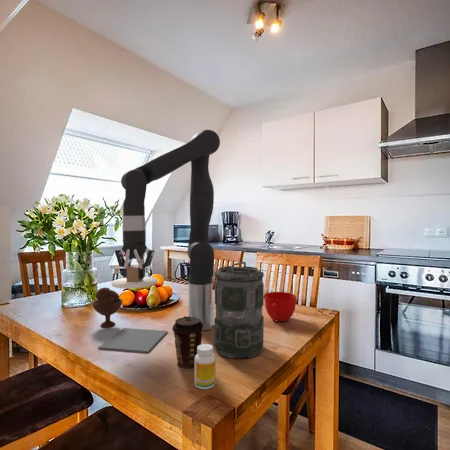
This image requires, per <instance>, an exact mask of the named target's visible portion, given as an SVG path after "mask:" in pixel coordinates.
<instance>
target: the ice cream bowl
mask: <svg viewBox="0 0 450 450" xmlns="http://www.w3.org/2000/svg"><path fill="white" fill-rule="evenodd" d="M95 298H96V300H94V301H92V303H91V304H92V307H93V310H95V312H97V313H98V315H99V314H100V315H101V316H104V317H105V320H104V321H103V322H102V323H101V324H100V327H101V328H103V329H107V328H108V329H109V328H112V327H115V326H116V323H115V322H114V321H112V320H111V316H112V315H114V314H115V313H117V311H118V310H119V309H120V308H121V306H122V304H123V301H124V300H123V299H121V298H120V294H119V293H118V292H116V291H115V290H113V289H111V288H109V287H101V288H98V290H97V291H96V293H95Z"/></svg>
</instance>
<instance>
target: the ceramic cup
mask: <svg viewBox="0 0 450 450" xmlns="http://www.w3.org/2000/svg"><path fill="white" fill-rule="evenodd" d="M264 305H265V310H266V313H267V314H268V316H269V317H270V319H271V320H272V319H273V320H272V321H274V320H277V321H286V320H288V321H289V320H290V319H291V318H292V317H293V315H294V313H295V309H296V305H297V296H296V295H295V294H293V293H291V292H286V291H285V292H284V291H270V292H266V293H265V294H264ZM286 322H287V321H286Z"/></svg>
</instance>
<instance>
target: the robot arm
mask: <svg viewBox="0 0 450 450" xmlns="http://www.w3.org/2000/svg"><path fill="white" fill-rule="evenodd" d="M220 144H221V141H220V136H219V134H217V132H215V130H211V129H204V130H201V131H199V132H197V133H196V134H193V136H192V137H191V138H190V141H188V142H187V143H185V144H182V145H181V146H178V147H176V148H173V149H171V150H169V151H166V152H165V153H162V154H160V155H158V156H156V157H154V158H152V159H150V160H149V161H147V162H146V163H144V164H143V165H140V166H138V167H136V168H133V169H130V170H128V171H127V172H125V173H123V175H122V176H121V179H120V183H121V186H122V188H123V189H125V190H124V191H125V193H124V195H125V196H124V197H125V198H124V200H123V205H122V243H123V244H122V245H123V246H122V247H121V248H120V249H119V248H118V249H115V250H114V253H115V256H116V259H117V263H118V266H119V267H121V268H124V278H126V279H127V267H129V266H132V262H133V260H136V262H137V264H138V265H139V268H140V269H139V280H142V279H143V278H144V277H146V268H148V267H150V266H151V264H152V260H153V257H154V254H155V250H154V249H150V248H148V247H147V244H146V243H147V239H146V237H147V236H146V233H147V230H146V227H147V224H146V217H145V215H146V214H145V212H146V211H145V209H146V208H145V207H146V206H145V201H146V194H147V192H146V191H147V185H148V184H150V183H152V182H154V181H157V180H159V179H162V178H164V177H165V176H168V175H169V174H171V173H172V172H173V173H174V171H176V170H178V169H179V168H181V167H183V166H185V165H187V164H188V163H190V165H191V167H190V168H191V173H190V188H189V189H190V191H189V222H190V225H189V226H190V231H189V239H188V247H187V256H188V258H189V275H188V317H189V316H190V317H197V318H199V319H200V320H201V323H202V324H203V328H202V331H208V330H209V331H210V330H212V328H213V327H214V319H215V314H214V311H215V308H214V306H215V300H213V278H214V276H215V251H214V248H213V246H212V244H210V242H209V240H210V238H209V228H210V223H211V220H212V215H213V211H214V203H215V202H214V200H215V198H214V197H215V191H214V185H213V181H212V179H211V175H210V171H209V164H210V162H209V161H210V155H212V154H214V153H216V152H217V151H218V150H219V148H220V146H221V145H220ZM124 254H125V257H124ZM144 254H145V255H146V258H145V255H144Z"/></svg>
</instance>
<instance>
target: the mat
mask: <svg viewBox="0 0 450 450" xmlns="http://www.w3.org/2000/svg"><path fill="white" fill-rule="evenodd" d="M167 334H168V330H159V329H158V330H157V329H145V328H143V329H142V328H129V327H128V328H127V327H124V328H122V329H121V330H120V331H118V332H117V333H115V334H114V335H113V336H111V337H110V338H108V339H107V340H105V342H103V343H102V344H101V345H99V346H98V347H97V349H98V350H107V351H118V352H129V353H130V352H131V353H142V354H149V353H150V352H151V351H152V350H153V349H154V347H155V346H156V345H157V344H158V343H159V342H161V340H162V339H163V338H164V337H165V336H166V335H167Z"/></svg>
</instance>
